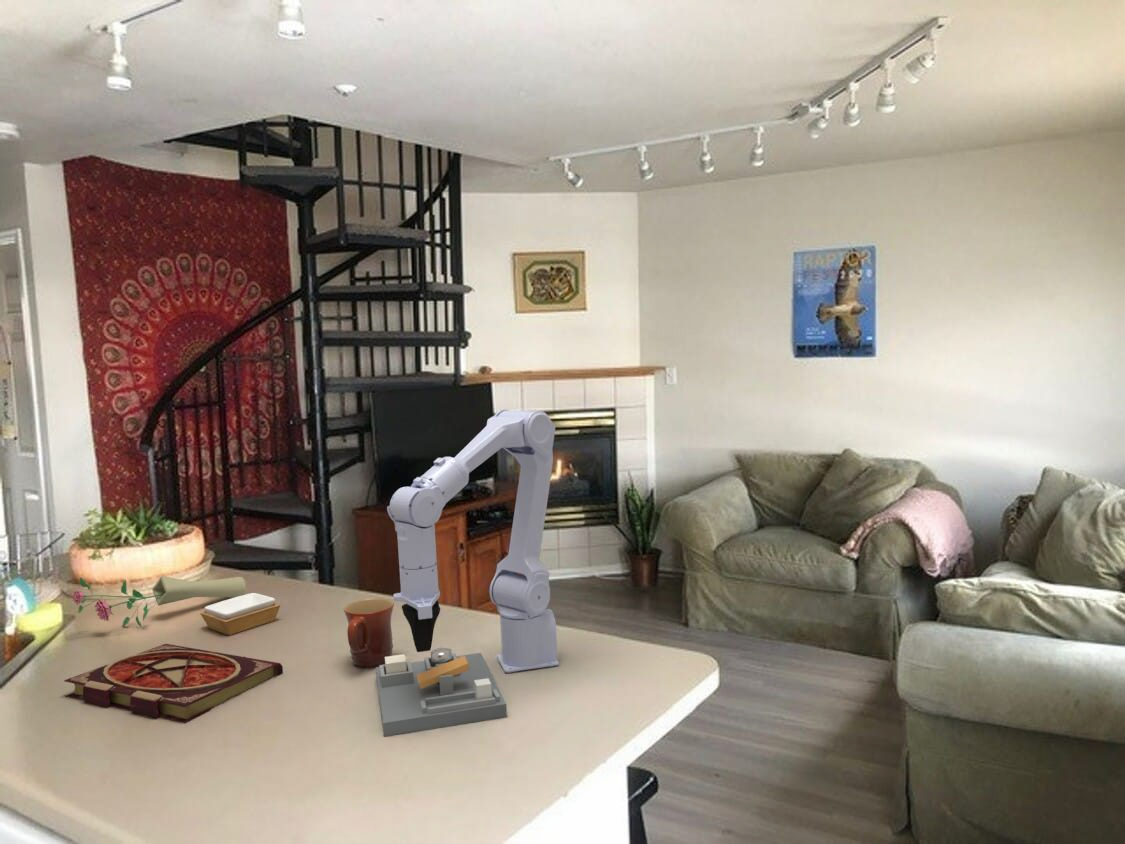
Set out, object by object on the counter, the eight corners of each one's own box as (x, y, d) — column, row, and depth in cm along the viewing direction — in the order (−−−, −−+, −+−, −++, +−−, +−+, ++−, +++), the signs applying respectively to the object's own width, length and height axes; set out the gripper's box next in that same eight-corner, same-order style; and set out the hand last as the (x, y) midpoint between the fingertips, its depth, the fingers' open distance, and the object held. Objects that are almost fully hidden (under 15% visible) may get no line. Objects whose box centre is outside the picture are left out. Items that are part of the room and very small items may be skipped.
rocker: (467, 663, 134) (464, 655, 134) (470, 671, 130) (468, 663, 130) (419, 682, 132) (416, 674, 132) (421, 691, 128) (418, 683, 128)
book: (283, 680, 145) (281, 652, 145) (181, 729, 126) (179, 697, 126) (169, 659, 158) (167, 633, 157) (60, 701, 139) (58, 672, 138)
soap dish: (256, 613, 180) (254, 590, 180) (282, 621, 174) (280, 597, 174) (201, 630, 171) (199, 606, 170) (226, 639, 165) (224, 614, 164)
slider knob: (489, 695, 128) (488, 678, 127) (491, 701, 125) (491, 683, 125) (475, 698, 127) (474, 680, 127) (477, 703, 125) (476, 685, 125)
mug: (360, 651, 154) (356, 597, 153) (404, 653, 153) (401, 598, 152) (329, 677, 143) (325, 619, 142) (377, 679, 141) (373, 620, 140)
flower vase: (242, 634, 189) (81, 648, 161) (215, 609, 197) (56, 619, 169) (257, 586, 188) (98, 592, 160) (230, 563, 196) (72, 565, 167)
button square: (405, 664, 137) (404, 654, 137) (406, 671, 134) (406, 661, 134) (385, 667, 137) (384, 656, 136) (386, 674, 133) (385, 663, 133)
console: (481, 663, 146) (480, 636, 145) (506, 716, 125) (505, 684, 124) (376, 678, 141) (374, 650, 141) (384, 736, 120) (382, 702, 120)
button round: (450, 657, 140) (450, 646, 140) (453, 664, 137) (452, 653, 136) (430, 659, 139) (429, 649, 139) (432, 667, 136) (432, 656, 136)
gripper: (388, 556, 134) (393, 637, 136) (395, 580, 120) (401, 670, 122) (432, 551, 136) (437, 632, 138) (444, 574, 122) (449, 663, 124)
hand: (423, 650), depth 130 cm, fingers closed
